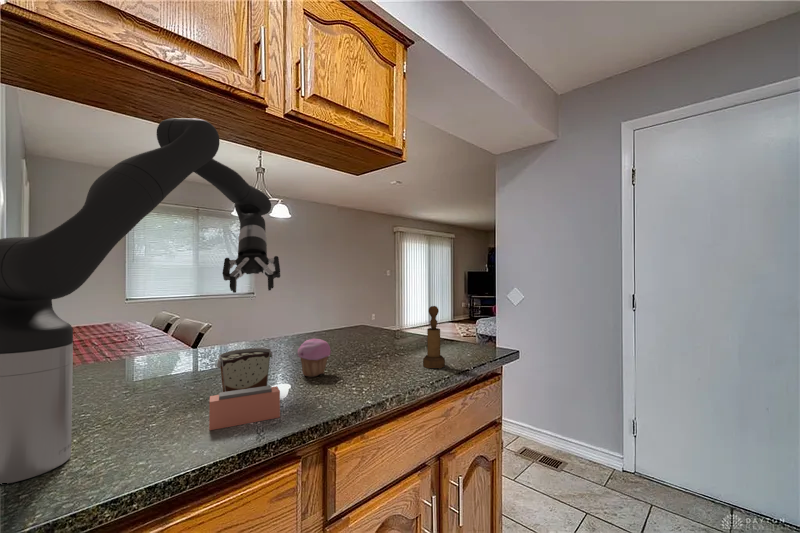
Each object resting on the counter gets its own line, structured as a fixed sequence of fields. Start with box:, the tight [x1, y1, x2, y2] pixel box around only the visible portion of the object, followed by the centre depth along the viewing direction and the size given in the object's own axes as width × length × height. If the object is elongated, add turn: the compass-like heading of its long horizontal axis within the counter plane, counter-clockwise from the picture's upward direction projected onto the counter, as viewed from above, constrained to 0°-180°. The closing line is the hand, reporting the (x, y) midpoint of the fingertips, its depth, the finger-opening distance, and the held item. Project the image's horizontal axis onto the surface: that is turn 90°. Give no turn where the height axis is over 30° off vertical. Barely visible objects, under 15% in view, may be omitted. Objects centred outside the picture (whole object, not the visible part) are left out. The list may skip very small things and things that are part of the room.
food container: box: [216, 347, 273, 392], centre depth 80 cm, size 12×6×10 cm, turn 141°
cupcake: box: [297, 337, 332, 378], centre depth 96 cm, size 9×9×10 cm
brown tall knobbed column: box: [422, 305, 446, 369], centre depth 105 cm, size 7×6×18 cm
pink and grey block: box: [208, 385, 281, 431], centre depth 66 cm, size 12×4×6 cm, turn 118°
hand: (252, 289), depth 91 cm, fingers open, 8 cm apart
